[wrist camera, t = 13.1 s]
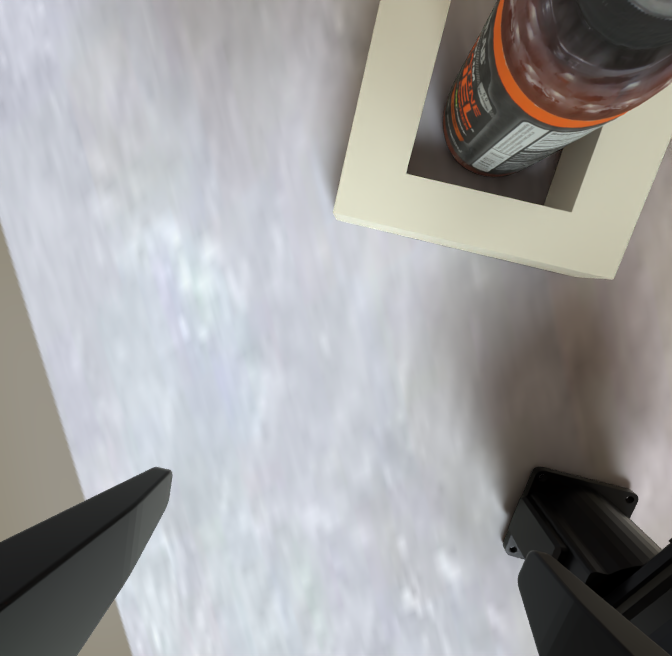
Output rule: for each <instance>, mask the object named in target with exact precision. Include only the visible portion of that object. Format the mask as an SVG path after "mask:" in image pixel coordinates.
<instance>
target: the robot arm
mask: <svg viewBox="0 0 672 656" xmlns="http://www.w3.org/2000/svg"><path fill="white" fill-rule="evenodd" d="M542 474H544V475H543V476H542V477H539V476H540V475H542ZM171 482H172V471H171V470H169V469H164V468H160V467H154V468H151V469H149V470H147V471H145V472H143V473H141V474H139V475H137V476H135V477H133V478H131V479H129V480H127V481H125V482H123V483H120V484H118V485H116V486H114V487H112V488H110V489H108V490H106V491H104V492H102V493H100V494H98V495H96V496H94V497H92V498H90V499H88V500H86V501H84V502H82V503H79V504H77V505H76V506H73V507H71V508H69V509H67V510H65V511H63V512H61V513H59V514H57V515H55V516H53V517H51V518H49V519H47V520H45V521H43V522H40V523H38V524H37V525H35V526H33V527H30V528H28V529H26V530H24V531H22V532H20V533H18V534H16V535H14V536H12V537H10V538H8V539H6V540H4V541H2V542H0V656H77V655H78V653H79V652H80V650H81V649H82V647H83V646H84V644H85V643H86V641H87V640H88V638H89V637H90V635H91V634H92V632H93V631H94V629H95V628H96V626H97V625H98V623H99V622H100V620H101V619H102V617H103V616H104V614H105V613H106V611H107V610H108V608H109V607H110V605H111V603H112V602H113V601H114V599H115V598H116V596H117V595H118V593H119V592H120V590H121V588H122V587H123V585H124V584H125V582H126V581H127V579H128V577H129V576H130V574H131V572H132V570H133V569H134V567H135V565H136V563H137V561H138V559H139V558H140V556H141V554H142V552H143V550H144V548H145V546H146V545H147V543H148V541H149V539H150V537H151V535H152V533H153V531H154V530H155V528H156V526H157V524H158V522H159V520H160V518H161V517H162V515H163V513H164V511H165V509H166V507H167V504H168V501H169V496H170V489H171ZM627 497H628V498H627ZM626 498H627V499H626ZM637 502H638V496H637V495H636V494H635V493H634V492H633V491H631V490H630V489H627V488H623V487H619V486H615V485H611V484H607V483H603V482H599V481H595V480H591V479H587V478H583V477H579V476H576V475H572V474H568V473H564V472H560V471H556V470H552V469H548V468H544V467H537V468H535V469H534V470H533V471H532V473H531V476H530V478H529V480H528V483H527V485H526V488H525V490H524V493H523V495H522V497H521V498H520V500H519V503H518V505H517V508H516V510H515V513H514V515H513V518H512V520H511V523H510V525H509V528H508V529H509V530H508V533H507V535H506V538H505V540H504V543H503V547H504V549H505V551H506V553H507V554H508V555H510V556H513V557H517V558H521V559H525V561H524V563H523V566H522V568H521V570H520V572H519V575H518V587H519V590H520V594H521V597H522V600H523V604H524V607H525V610H526V614H527V617H528V620H529V624H530V627H531V630H532V634H533V637H534V640H535V644H536V647H537V650H538V653H539V656H672V538H671V539H670V540H669V542H670V544H669V545H667V546H666V547H665V548H664V549H661V548H660V547H659V546H658V545H657V544H656V543H655V542H654V541H653V540H652V539H651V538H649V537H648V536H647V535H646V534H645V533H644V532H643V531H642V530H641V529H640V528H639V527H638V526H637V525H636V524H635V523H634V522H633V521H632V520H631V519H630V517H631V515H632V513H633V511H634V509H635V506H636V504H637ZM512 546H514V547H512ZM510 547H512V548H510Z"/></svg>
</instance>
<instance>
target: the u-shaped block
mask: <svg viewBox="0 0 672 656" xmlns="http://www.w3.org/2000/svg"><path fill="white" fill-rule="evenodd" d="M450 3H451V0H380V4H379V8H378V13H377V17H376V22H375V26H374V31H373V35H372V40H371V44H370V49H369V53H368V58H367V62H366V66H365V71H364V75H363V80H362V84H361V89H360V93H359V98H358V102H357V107H356V111H355V116H354V120H353V125H352V129H351V134H350V138H349V143H348V147H347V152H346V156H345V161H344V165H343V170H342V174H341V178H340V183H339V187H338V192H337V196H336V201H335V205H334V210H333V214H334V216H335V217H336V219H337V220H339V221H343V222H347V223H351V224H356V225H360V226H364V227H368V228H372V229H376V230H381V231H385V232H389V233H393V234H397V235H402V236H406V237H410V238H414V239H418V240H422V241H427V242H431V243H435V244H439V245H443V246H448V247H452V248H456V249H460V250H464V251H468V252H473V253H477V254H481V255H485V256H489V257H493V258H498V259H502V260H506V261H510V262H514V263H519V264H523V265H527V266H531V267H535V268H539V269H544V270H548V271H552V272H556V273H560V274H565V275H569V276H573V277H583V278H597V279H612V280H614V277H615V275H616V272H617V270H618V267H619V265H620V262H621V260H622V257H623V255H624V252H625V250H626V247H627V245H628V242H629V240H630V238H631V235H632V233H633V230H634V228H635V225H636V223H637V220H638V218H639V215H640V213H641V210H642V208H643V205H644V203H645V201H646V198H647V196H648V193H649V191H650V188H651V186H652V183H653V181H654V178H655V176H656V173H657V171H658V168H659V166H660V164H661V161H662V159H663V156H664V154H665V151H666V149H667V146H668V144H669V141H670V139H671V136H672V83H671V84H670V85H668V86H667V87H666V88H664V89H663V90H662V91H660V92H659V93H657V94H656V95H654V96H653V97H651V98H650V99H649V100H647V101H645V102H644V103H642V104H641V105H639V106H637V107H636V108H634V109H632V110H630V111H628V112H627V113H625V114H624V115H622V116H620V117H618V118H617V119H615V120H613V121H611V122H609V123H607V124H605V125H603V126H601V127H600V128H598V129H596V130H594V131H592V132H590V133H589V134H587V135H585V136H583V137H581V138H580V139H578V140H576V141H574V142H572V143H570V144H569V145H567V146H565V147H564V148H563V151H562V154H561V157H560V160H559V162H558V165H557V168H556V171H555V174H554V177H553V180H552V183H551V186H550V188H549V191H548V194H547V197H546V200H545V203H544V206H542V205H537V204H533V203H529V202H525V201H520V200H516V199H512V198H508V197H503V196H499V195H495V194H491V193H486V192H482V191H478V190H474V189H469V188H465V187H461V186H457V185H452V184H448V183H444V182H440V181H435V180H431V179H427V178H423V177H418V176H414V175H410V174H406V172H407V168H408V164H409V160H410V156H411V152H412V149H413V145H414V141H415V137H416V133H417V129H418V126H419V122H420V118H421V114H422V110H423V106H424V103H425V99H426V95H427V91H428V87H429V83H430V79H431V76H432V72H433V68H434V64H435V60H436V56H437V53H438V49H439V45H440V41H441V37H442V33H443V30H444V26H445V22H446V18H447V14H448V10H449V7H450Z"/></svg>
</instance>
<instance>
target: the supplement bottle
mask: <svg viewBox="0 0 672 656" xmlns="http://www.w3.org/2000/svg"><path fill="white" fill-rule="evenodd" d="M671 83H672V0H498V1H497V3H496V4H495V6H494V8H493V10H492V13H491V14H490V16H489V18H488V20H487V22H486V24H485V26H484V27H483V29H482V31H481V33H480V35H479V37H478V39H477V41H476V43H475V45H474V46H473V48H472V50H471V52H470V54H469V56H468V58H467V59H466V61H465V63H464V64H463V66H462V68H461V71H460V72H459V74H458V76H457V78H456V79H455V81H454V84H453V86H452V88H451V91H450V93H449V96H448V98H447V101H446V105H445V109H444V116H443V129H444V135H445V140H446V143H447V145H448V148H449V150H450V152H451V153H452V155H453V156H454V158H455V160H456V161H457V162H458V163H460V164H461V165H462V166H463V167H464V168H466V169H468V170H470V171H472V172H474V173H476V174H479V175H483V176H490V177H499V176H506V175H509V174H513V173H516V172H518V171H520V170H522V169H524V168H526V167H528V166H530V165H532V164H534V163H536V162H538V161H539V160H541V159H543V158H545V157H547V156H548V155H550V154H552V153H554V152H556V151H558V150H559V149H561V148H563V147H565V146H567V145H569V144H570V143H572V142H574V141H576V140H578V139H580V138H581V137H583V136H585V135H587V134H589V133H590V132H592V131H594V130H596V129H598V128H600V127H601V126H603V125H605V124H607V123H609V122H611V121H613V120H615V119H617V118H618V117H620V116H622V115H624V114H625V113H627V112H628V111H630V110H632V109H634V108H636V107H637V106H639V105H641V104H642V103H644V102H645V101H647V100H649V99H650V98H651V97H653V96H654V95H656V94H657V93H659V92H660V91H662V90H663V89H664V88H666V87H667V86H668V85H670V84H671Z"/></svg>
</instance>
